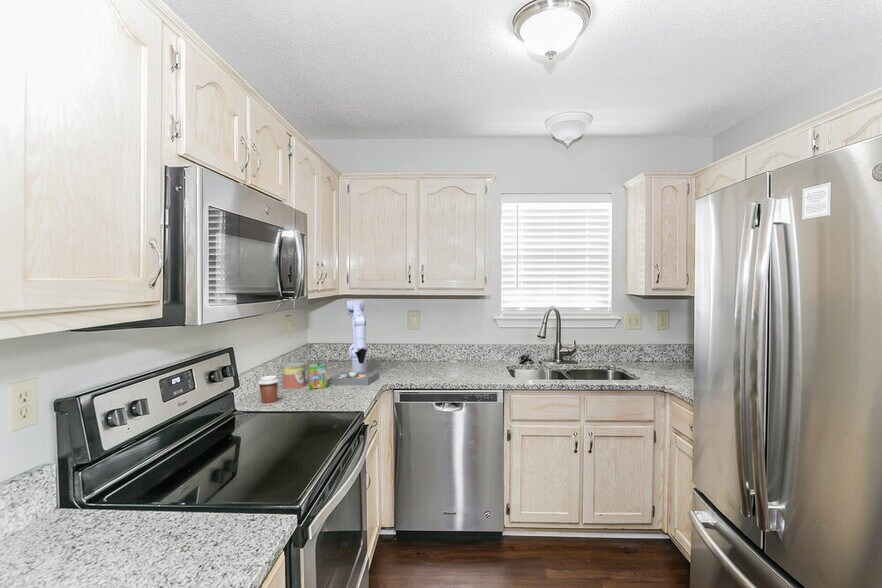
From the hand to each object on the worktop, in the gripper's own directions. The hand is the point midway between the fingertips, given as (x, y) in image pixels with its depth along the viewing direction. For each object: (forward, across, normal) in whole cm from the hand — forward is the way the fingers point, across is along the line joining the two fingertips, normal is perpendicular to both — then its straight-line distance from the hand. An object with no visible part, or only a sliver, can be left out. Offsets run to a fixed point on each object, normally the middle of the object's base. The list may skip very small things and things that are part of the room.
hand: (361, 363), depth 237 cm
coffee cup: (+10, +43, -27) cm, 52 cm away
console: (+10, -2, -5) cm, 12 cm away
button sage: (+8, 0, -5) cm, 9 cm away
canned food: (+11, +12, -33) cm, 37 cm away
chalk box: (+11, +11, -20) cm, 25 cm away
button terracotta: (+9, 0, 0) cm, 9 cm away
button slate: (+9, 0, -11) cm, 14 cm away
